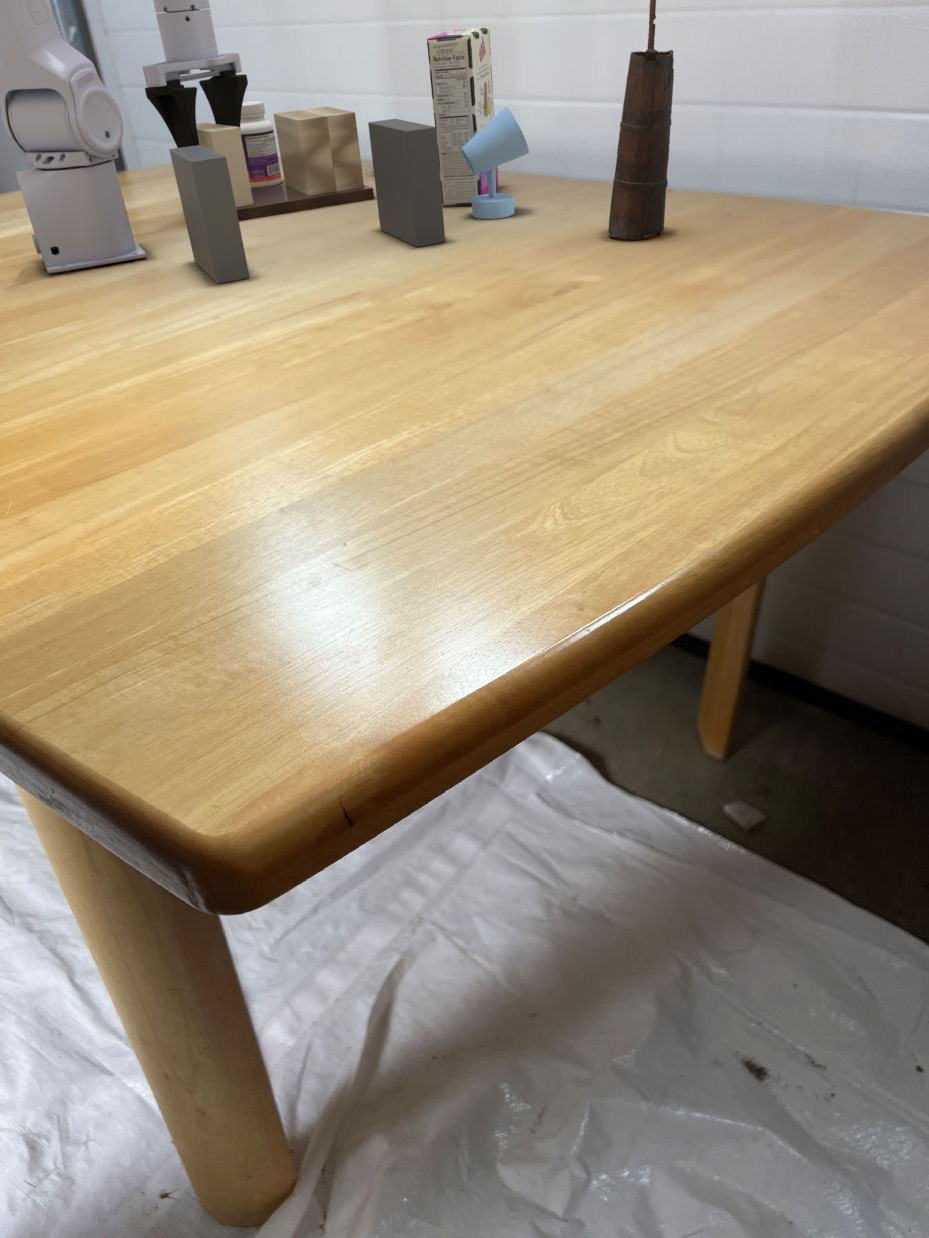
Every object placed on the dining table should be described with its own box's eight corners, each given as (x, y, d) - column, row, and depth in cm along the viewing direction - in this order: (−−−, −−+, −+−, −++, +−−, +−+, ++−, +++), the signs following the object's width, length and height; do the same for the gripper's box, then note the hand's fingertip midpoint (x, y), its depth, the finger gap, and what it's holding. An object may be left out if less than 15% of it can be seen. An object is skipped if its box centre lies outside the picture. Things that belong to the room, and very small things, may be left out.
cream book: (226, 210, 106) (210, 131, 101) (192, 200, 112) (175, 126, 108) (253, 204, 107) (239, 127, 103) (218, 195, 114) (203, 122, 109)
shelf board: (210, 225, 105) (190, 135, 100) (189, 209, 114) (170, 125, 109) (374, 198, 111) (364, 112, 106) (341, 185, 120) (331, 105, 115)
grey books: (217, 284, 83) (190, 161, 77) (194, 262, 90) (168, 149, 85) (445, 242, 90) (436, 127, 84) (406, 225, 97) (396, 118, 92)
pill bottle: (240, 184, 127) (225, 104, 122) (279, 179, 128) (265, 99, 123) (244, 190, 123) (229, 107, 117) (285, 185, 124) (271, 102, 118)
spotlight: (523, 206, 101) (461, 213, 101) (520, 102, 96) (454, 109, 95) (534, 214, 97) (470, 222, 97) (531, 107, 92) (463, 114, 91)
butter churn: (673, 251, 81) (696, -165, 65) (571, 246, 85) (569, -147, 69) (702, 227, 87) (729, -157, 71) (606, 224, 91) (612, -141, 75)
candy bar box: (459, 188, 113) (448, 29, 104) (499, 186, 112) (491, 26, 103) (438, 207, 104) (424, 36, 95) (482, 206, 103) (472, 32, 94)
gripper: (168, 13, 92) (200, 163, 100) (252, 5, 103) (275, 141, 111) (114, 17, 95) (149, 163, 103) (202, 9, 105) (227, 142, 113)
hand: (211, 152), depth 107 cm, fingers open, 7 cm apart
